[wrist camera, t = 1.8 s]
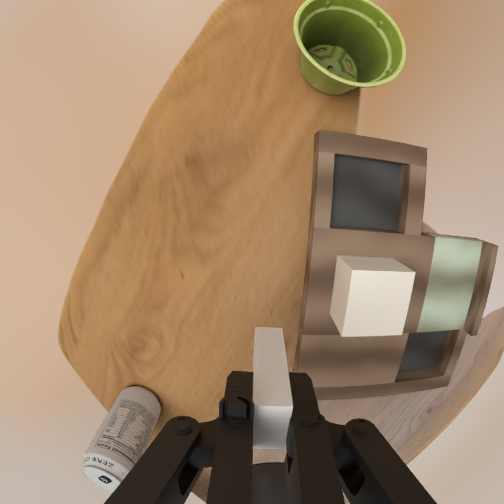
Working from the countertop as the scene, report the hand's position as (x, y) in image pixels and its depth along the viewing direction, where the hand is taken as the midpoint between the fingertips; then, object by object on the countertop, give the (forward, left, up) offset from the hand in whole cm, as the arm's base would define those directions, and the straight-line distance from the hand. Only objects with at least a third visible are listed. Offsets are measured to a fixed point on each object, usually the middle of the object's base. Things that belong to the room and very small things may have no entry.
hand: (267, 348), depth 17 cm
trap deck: (0, -15, -15) cm, 21 cm away
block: (0, -10, -13) cm, 16 cm away
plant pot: (+22, -6, -15) cm, 27 cm away
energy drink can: (-19, +15, -15) cm, 29 cm away
